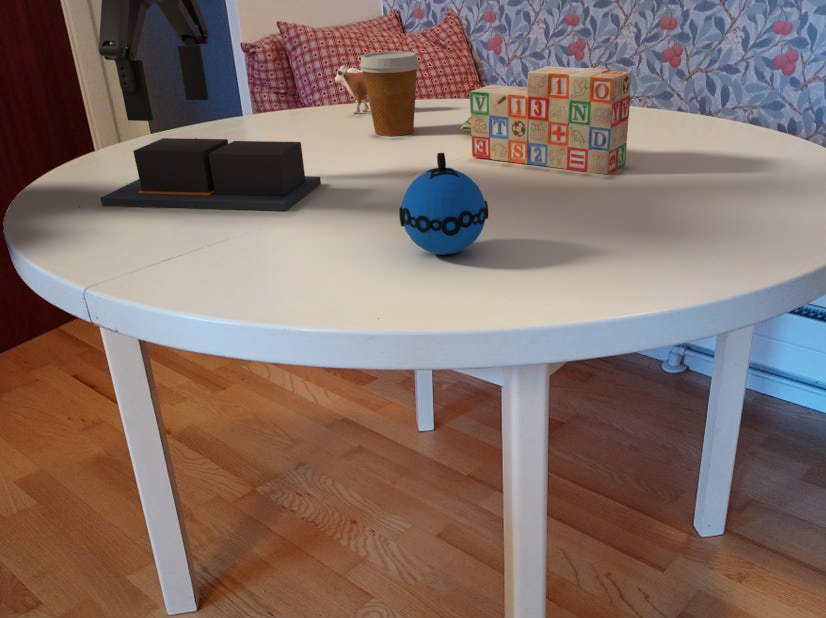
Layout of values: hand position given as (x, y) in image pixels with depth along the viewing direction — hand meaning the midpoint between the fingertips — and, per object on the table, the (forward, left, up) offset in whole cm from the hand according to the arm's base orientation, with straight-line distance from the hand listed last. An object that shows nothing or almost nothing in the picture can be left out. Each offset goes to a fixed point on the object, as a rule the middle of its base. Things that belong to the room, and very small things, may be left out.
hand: (170, 109), depth 100 cm
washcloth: (+37, +42, -11) cm, 57 cm away
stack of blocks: (+44, +20, -11) cm, 50 cm away
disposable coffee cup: (+17, +38, -11) cm, 43 cm away
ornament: (+38, -18, -11) cm, 43 cm away
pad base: (+4, 0, -11) cm, 11 cm away
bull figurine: (+8, +55, -11) cm, 57 cm away
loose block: (0, 0, -9) cm, 9 cm away
